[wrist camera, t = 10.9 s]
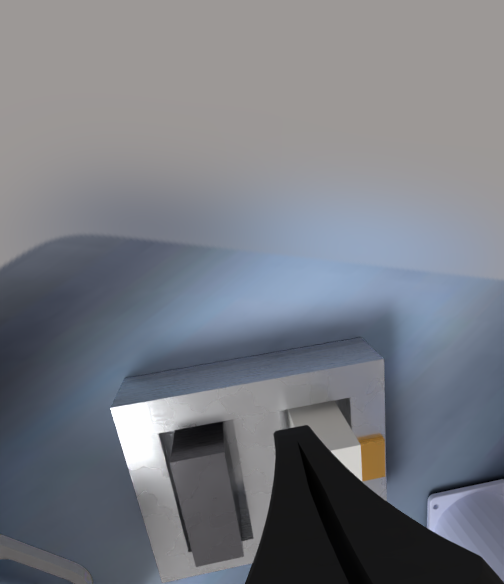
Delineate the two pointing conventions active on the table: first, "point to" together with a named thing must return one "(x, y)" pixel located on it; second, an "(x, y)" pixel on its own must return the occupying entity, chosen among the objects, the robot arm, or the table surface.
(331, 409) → the rectangular block
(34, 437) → the table surface
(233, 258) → the table surface
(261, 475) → the rack
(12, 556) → the network device
